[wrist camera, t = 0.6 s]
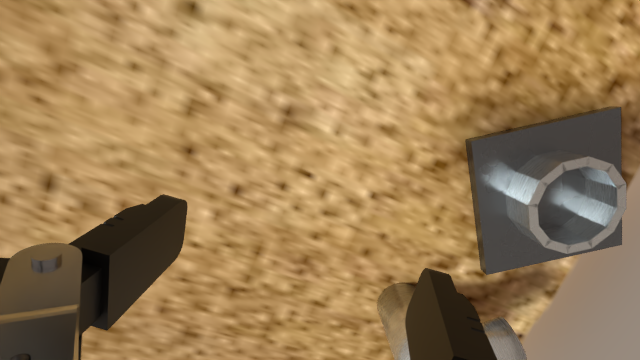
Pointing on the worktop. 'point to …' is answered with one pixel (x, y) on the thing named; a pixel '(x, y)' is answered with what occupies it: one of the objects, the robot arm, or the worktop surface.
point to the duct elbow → (393, 320)
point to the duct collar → (547, 189)
